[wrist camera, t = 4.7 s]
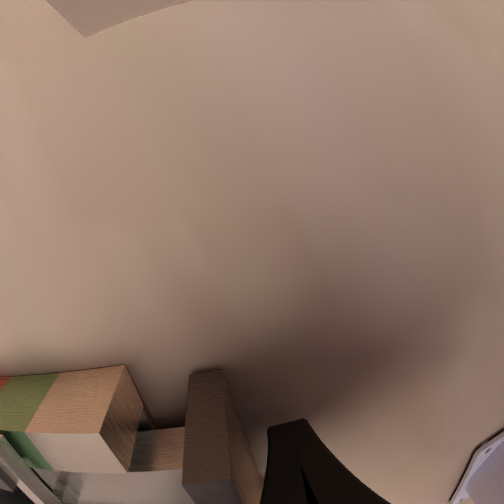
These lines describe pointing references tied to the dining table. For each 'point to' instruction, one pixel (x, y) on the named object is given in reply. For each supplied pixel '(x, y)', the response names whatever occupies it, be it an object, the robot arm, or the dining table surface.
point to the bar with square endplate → (162, 461)
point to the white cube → (105, 12)
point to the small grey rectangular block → (6, 481)
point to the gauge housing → (71, 422)
